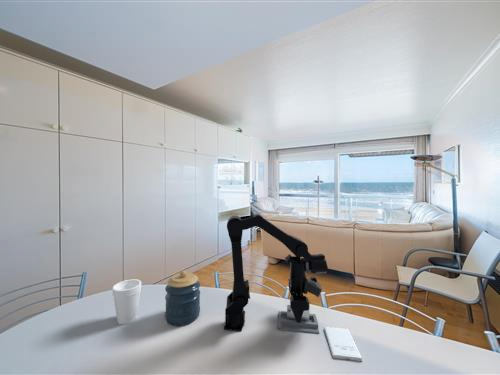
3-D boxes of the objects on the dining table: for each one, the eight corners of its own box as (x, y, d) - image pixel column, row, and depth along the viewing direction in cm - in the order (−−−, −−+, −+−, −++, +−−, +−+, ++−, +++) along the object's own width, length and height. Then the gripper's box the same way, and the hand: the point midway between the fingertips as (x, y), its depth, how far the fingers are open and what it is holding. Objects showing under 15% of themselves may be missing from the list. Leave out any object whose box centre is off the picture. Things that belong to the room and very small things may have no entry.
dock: (278, 329, 74) (278, 324, 74) (278, 312, 84) (278, 308, 84) (319, 333, 72) (319, 328, 72) (315, 315, 82) (315, 311, 82)
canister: (157, 322, 77) (157, 274, 77) (180, 303, 90) (180, 262, 89) (186, 330, 73) (186, 280, 73) (206, 310, 85) (206, 267, 85)
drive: (287, 321, 77) (287, 308, 77) (286, 317, 80) (287, 304, 80) (309, 324, 76) (309, 310, 76) (308, 319, 79) (308, 306, 79)
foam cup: (106, 323, 77) (106, 287, 76) (129, 309, 85) (129, 277, 85) (124, 329, 73) (124, 293, 73) (146, 314, 82) (146, 281, 82)
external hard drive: (348, 333, 73) (362, 363, 61) (324, 330, 74) (332, 359, 62) (348, 328, 73) (362, 357, 61) (324, 326, 74) (332, 354, 62)
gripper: (325, 286, 67) (325, 334, 68) (315, 265, 86) (315, 302, 86) (290, 284, 69) (290, 330, 69) (288, 263, 88) (288, 300, 88)
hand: (297, 314), depth 78 cm, fingers open, 9 cm apart
